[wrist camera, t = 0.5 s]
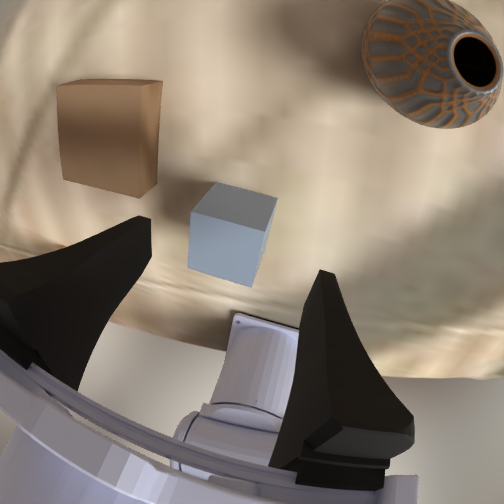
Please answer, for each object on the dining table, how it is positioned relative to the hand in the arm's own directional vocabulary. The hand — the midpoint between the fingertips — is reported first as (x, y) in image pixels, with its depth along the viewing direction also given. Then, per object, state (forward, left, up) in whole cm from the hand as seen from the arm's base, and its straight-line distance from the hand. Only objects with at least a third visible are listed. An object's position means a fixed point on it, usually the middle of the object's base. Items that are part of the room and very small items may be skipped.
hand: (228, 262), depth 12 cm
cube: (-4, +2, -10) cm, 10 cm away
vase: (+10, -6, -10) cm, 16 cm away
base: (+1, +13, -10) cm, 16 cm away
